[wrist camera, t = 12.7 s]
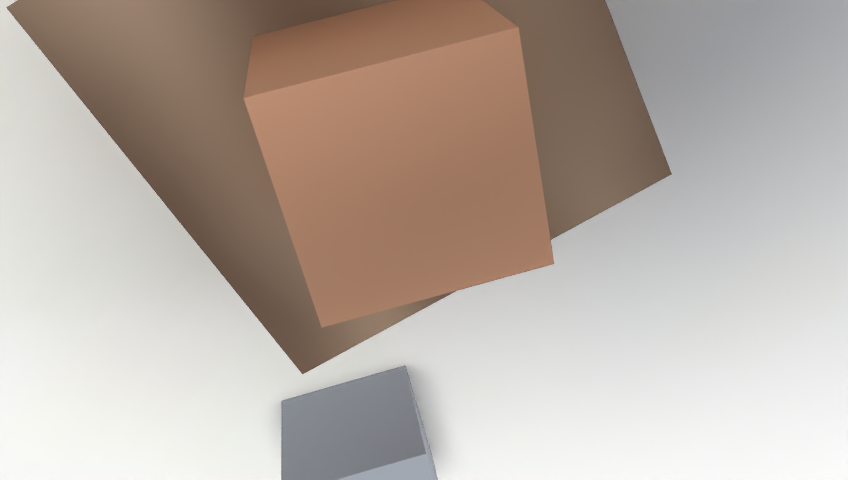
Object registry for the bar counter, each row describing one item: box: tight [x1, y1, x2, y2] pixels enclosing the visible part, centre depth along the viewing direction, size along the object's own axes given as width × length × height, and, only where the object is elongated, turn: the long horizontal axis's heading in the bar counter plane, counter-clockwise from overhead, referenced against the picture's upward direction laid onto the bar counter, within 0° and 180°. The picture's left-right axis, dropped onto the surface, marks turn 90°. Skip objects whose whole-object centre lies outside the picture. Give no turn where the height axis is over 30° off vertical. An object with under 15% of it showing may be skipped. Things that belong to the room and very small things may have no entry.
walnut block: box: [6, 0, 671, 374], centre depth 21 cm, size 12×12×6 cm
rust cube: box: [244, 0, 554, 327], centre depth 17 cm, size 5×5×5 cm
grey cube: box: [281, 366, 438, 480], centre depth 29 cm, size 5×5×5 cm
